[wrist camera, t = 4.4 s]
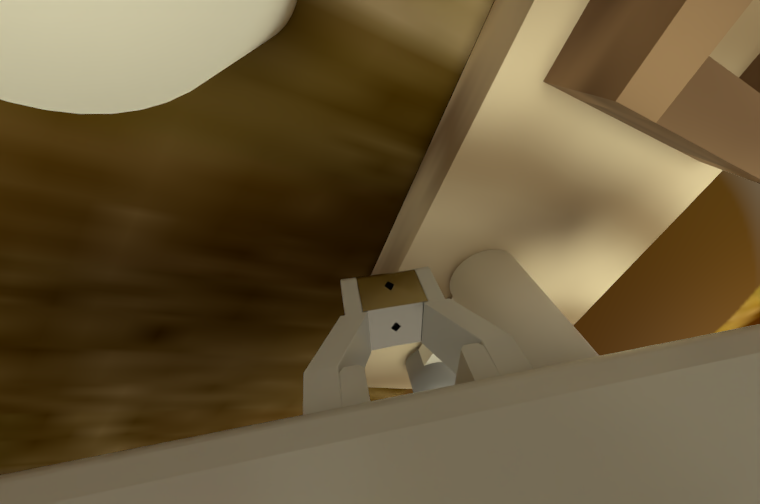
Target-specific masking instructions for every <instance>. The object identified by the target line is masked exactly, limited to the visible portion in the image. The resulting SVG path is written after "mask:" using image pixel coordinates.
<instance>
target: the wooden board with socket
mask: <svg viewBox="0 0 760 504" xmlns="http://www.w3.org/2000/svg"><path fill="white" fill-rule="evenodd" d="M722 170H724V171H727V172H729V173H732V174H735V175H738V176H740V177H743V178H746V179H748V180H751V181H754V182H757V183H759V184H760V0H495V1H494V4H493V6H492V8H491V10H490V12H489V15H488V17H487V19H486V21H485V23H484V26H483V28H482V30H481V32H480V35H479V37H478V39H477V41H476V43H475V46H474V48H473V50H472V52H471V54H470V57H469V59H468V61H467V63H466V66H465V68H464V70H463V72H462V74H461V77H460V79H459V81H458V83H457V85H456V88H455V90H454V92H453V94H452V97H451V99H450V101H449V103H448V105H447V108H446V110H445V112H444V114H443V116H442V119H441V121H440V123H439V125H438V128H437V130H436V132H435V134H434V136H433V139H432V141H431V143H430V145H429V148H428V150H427V152H426V154H425V156H424V159H423V161H422V163H421V165H420V167H419V170H418V172H417V174H416V176H415V179H414V181H413V183H412V185H411V187H410V190H409V192H408V194H407V196H406V198H405V201H404V203H403V205H402V207H401V210H400V212H399V214H398V216H397V218H396V221H395V223H394V225H393V227H392V229H391V232H390V234H389V236H388V238H387V241H386V243H385V245H384V247H383V249H382V252H381V254H380V256H379V258H378V261H377V263H376V265H375V267H374V269H373V272H372V274H371V275H377V274H385V273H391V272H398V271H404V270H410V269H415V268H421V267H427V266H428V267H429V268H430V270H431V272H432V274H433V276H434V277H435V279H436V281H437V283H438V285H439V287H440V289H441V291H442V293H443V295H444V297H445V299H448V298H450V299H452V297H453V296H452V294H451V292H450V279H451V277H452V275H453V273H454V271H455V270H456V268H457V267H458V266H459V265H460V264H461V263H462V262H463V261H465V260H466V259H467V258H469V257H470V256H472V255H474V254H476V253H479V252H481V251H485V250H491V249H499V250H504V251H506V252H508V253H510V254H511V255H512V256H513V257H514V258H515V259H516V261H517V262H518V263H519V264H520V265H521V266H522V267H523V269H524V270H525V271H526V272H527V273H528V274H529V276H530V277H531V278H532V279H533V280H534V281H535V282H536V284H537V285H538V286H539V287H540V288H541V289H542V290H543V292H544V293H545V294H546V295H547V296H548V297H549V299H550V300H551V301H552V302H553V303H554V304H555V305H556V307H557V308H558V309H559V310H560V311H561V312H562V314H563V315H564V316H565V317H566V318H567V319H568V320H569V322H570V323H571V324H572V325H574V324H575V323H576V322H577V321H578V320H579V319H580V318H581V317H582V316H583V315H584V314H585V312H586V311H587V310H588V309H589V308H590V307H591V306H592V305H593V304H594V303H595V302H596V301H597V300H598V299H599V298H600V297H601V296H602V295H603V294H604V293H605V292H606V291H607V290H608V289H609V288H610V287H611V286H612V284H613V283H614V282H615V281H616V280H617V279H618V278H619V277H620V276H621V275H622V274H623V273H624V272H625V271H626V270H627V269H628V268H629V267H630V266H631V265H632V263H634V262H635V261H636V260H637V259H638V257H639V256H640V255H641V254H642V253H643V252H644V251H645V250H646V249H647V248H648V247H649V246H650V245H651V244H652V243H653V242H654V241H655V240H656V239H657V238H658V237H659V236H660V235H661V234H662V233H663V231H664V230H665V229H666V228H667V227H668V226H669V225H670V224H671V223H672V222H673V221H674V220H675V219H676V218H677V217H678V216H679V215H680V214H681V213H682V212H683V211H684V210H685V209H686V208H687V207H688V205H689V204H690V203H691V202H692V201H693V200H694V199H695V198H696V197H697V196H698V195H699V194H700V193H701V192H702V191H703V190H704V189H705V188H706V187H707V186H708V185H709V184H710V183H711V182H712V181H713V180H714V178H715V177H716V176H717V175H718V174H719V173H720V172H721V171H722ZM421 345H422V343H421V342H416V343H410V344H403V345H396V346H391V347H386V348H382V349H377V350H372V351H371V354H370V357H369V359H368V361H367V364H366V366H365V375H366V380H367V386H368V387H377V388H401V389H412V386H411V382H410V379H409V375H408V372H407V369H406V360H407V359H408V357H409V356H410V355H411V354H412V353H414V352H415V351H417V350H419V348H420V347H421Z"/></svg>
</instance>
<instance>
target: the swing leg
mask: <svg viewBox="0 0 760 504" xmlns="http://www.w3.org/2000/svg"><path fill="white" fill-rule="evenodd" d="M450 292H451V294H452V296H453V297H452V299H451V300H453V301H455V302H457V303H458V304H460V305H462V306H463V307H465V308H467V309H468V310H470V311H472V312H473V313H475V314H477V315H478V316H480V317H482V318H483V319H485V320H487V321H488V322H490V323H492V324H493V325H495V326H497V327H498V328H500V329H502V330H504V331H505V332H507V333H509V334H510V335H512V336H513V338H514V339H515V341H516V343H517V344H518V346H519V347H520V349H521V350H522V352H523V353H524V355H525V356H526V358H527V360H528V361H529V363H530V364H531V366H532V367H533V369H536V368H541V367H546V366H551V365H557V364H562V363H567V362H572V361H577V360H582V359H587V358H592V357H597V356H599V355H598V354H597V353H596V351H595V350H594V349H593V348H592V347H591V346H590V345H589V343H588V342H587V341H586V340H585V339H584V338H583V337H582V335H581V334H580V333H579V332H578V331H577V330H576V328H575V327H574V326H573V325H572V324H571V323H570V322H569V320H568V319H567V318H566V317H565V316H564V315H563V314H562V312H561V311H560V310H559V309H558V308H557V307H556V305H555V304H554V303H553V302H552V301H551V300H550V299H549V297H548V296H547V295H546V294H545V293H544V292H543V290H542V289H541V288H540V287H539V286H538V285H537V284H536V282H535V281H534V280H533V279H532V278H531V277H530V276H529V274H528V273H527V272H526V271H525V270H524V269H523V267H522V266H521V265H520V264H519V263H518V262H517V261H516V259H515V258H514V257H513V256H512V255H511V254H510V253H508V252H506V251H504V250H499V249H491V250H485V251H481V252H479V253H476V254H474V255H472V256H470V257H469V258H467V259H466V260H465V261H463V262H462V263H461V264H460V265H459V266H458V267H457V268H456V270H455V271H454V273H453V275H452V277H451V279H450ZM406 369H407V372H408V375H409V379H410V382H411V386H412V389H413V393H416V392H421V391H426V390H431V389H436V388H441V387H446V386H451V385H455V379H456V374H455V373H454V372H453V371H452V370H451V369H450V368H449V367H447V366H446V365H445V364H444V363H443V362H442V361H441V360H440V359H439V358H437V357H436V356H435V355H434V354H433V353H432V352H431V351H430V350H429V349H428V348H426V347H425V346H424V345H423V344H422V345H421V347H420V348H419V350H417V351H415V352H414V353H412V354H411V355H410V356H409V357H408V359H407V360H406Z"/></svg>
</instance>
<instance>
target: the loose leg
mask: <svg viewBox="0 0 760 504" xmlns="http://www.w3.org/2000/svg"><path fill="white" fill-rule="evenodd" d="M296 3H297V0H0V99H1V100H4V101H7V102H11V103H16V104H21V105H25V106H30V107H34V108H39V109H43V110H50V111H59V112H68V113H76V114H114V113H121V112H129V111H137V110H142V109H145V108H149V107H153V106H156V105H160V104H163V103H167V102H169V101H171V100H173V99H175V98H177V97H179V96H182V95H184V94H186V93H188V92H190V91H192V90H193V89H195V88H196V87H198V86H199V85H201V84H202V83H204V82H205V81H207V80H208V79H210V78H212V77H213V76H215V75H216V74H218V73H219V72H221V71H222V70H224V69H225V68H227V67H228V66H230V65H231V64H233V63H234V62H236V61H237V60H239V59H240V58H242V57H243V56H245V55H246V54H248V53H249V52H251V51H252V50H254V49H256V48H257V47H259V46H260V45H262V44H263V43H265V42H266V41H268V40H269V39H271V38H272V37H274V36H275V35H276V34H278V33H279V32H280V31H281V30H282V29H283V28H284V26H285V25H286V24H287V22H288V21H289V19H290V17H291V16H292V14H293V11H294V9H295V6H296Z"/></svg>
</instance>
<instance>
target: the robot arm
mask: <svg viewBox="0 0 760 504" xmlns="http://www.w3.org/2000/svg"><path fill="white" fill-rule="evenodd" d="M340 283H341V290H342V298H343V306H344V313H345V315H344V316H340V317H339V319H338V320H337V322H336V323H335V325H334V327H333V328H332V330H331V331H330V333H329V334H328V336H327V337H326V339H325V341H324V342H323V344H322V345H321V347H320V348H319V350H318V351H317V353H316V354H315V356H314V358H313V359H312V361H311V362H310V364H309V365H308V367H307V368H306V370H305V372H304V373H303V415H300V416H295V417H290V418H285V419H280V420H275V421H270V422H265V423H260V424H254V425H249V426H244V427H239V428H234V429H229V430H224V431H219V432H214V433H209V434H204V435H199V436H194V437H189V438H184V439H179V440H174V441H169V442H164V443H159V444H154V445H149V446H144V447H139V448H134V449H128V450H123V451H118V452H113V453H108V454H103V455H98V456H93V457H88V458H83V459H78V460H73V461H68V462H63V463H58V464H53V465H48V466H43V467H38V468H33V469H28V470H23V471H18V472H13V473H8V474H3V475H0V504H760V324H758V325H753V326H748V327H743V328H738V329H733V330H728V331H723V332H718V333H713V334H708V335H703V336H698V337H693V338H688V339H683V340H678V341H673V342H668V343H662V344H657V345H652V346H647V347H642V348H637V349H633V350H627V351H622V352H617V353H612V354H607V355H602V356H597V357H592V358H587V359H582V360H577V361H572V362H567V363H562V364H557V365H551V366H546V367H541V368H536V369H533V367H532V366H531V364H530V363H529V361H528V360H527V358H526V356H525V355H524V353H523V352H522V350H521V349H520V347H519V346H518V344H517V343H516V341H515V339H514V338H513V336H512V335H510V334H509V333H507V332H505V331H504V330H502V329H500V328H498V327H497V326H495V325H493V324H492V323H490V322H488V321H487V320H485V319H483V318H482V317H480V316H478V315H477V314H475V313H473V312H472V311H470V310H468V309H467V308H465V307H463V306H462V305H460V304H458V303H457V302H455V301H453V300H451V299H450V298H448V299H445V297H444V295H443V293H442V291H441V289H440V287H439V285H438V283H437V281H436V279H435V277H434V276H433V274H432V272H431V270H430V268H429V267H428V266H427V267H421V268H415V269H410V270H404V271H398V272H391V273H385V274H377V275H369V276H361V277H356V278H347V279H341V282H340ZM416 342H421V343H422V344H423V345H424V346H425V347H426V348H428V349H429V350H430V351H431V352H432V353H433V354H434V355H435V356H436V357H437V358H439V359H440V360H441V361H442V362H443V363H444V364H445V365H446V366H447V367H449V368H450V369H451V370H452V371H453V372H454V373H455V374H456V379H455V385H451V386H446V387H441V388H436V389H431V390H426V391H421V392H416V393H411V394H406V395H401V396H396V397H391V398H386V399H380V400H375V401H370V397H369V392H368V386H367V380H366V375H365V366H366V364H367V361H368V359H369V357H370V354H371V351H372V350H377V349H382V348H386V347H391V346H396V345H403V344H410V343H416Z"/></svg>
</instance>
